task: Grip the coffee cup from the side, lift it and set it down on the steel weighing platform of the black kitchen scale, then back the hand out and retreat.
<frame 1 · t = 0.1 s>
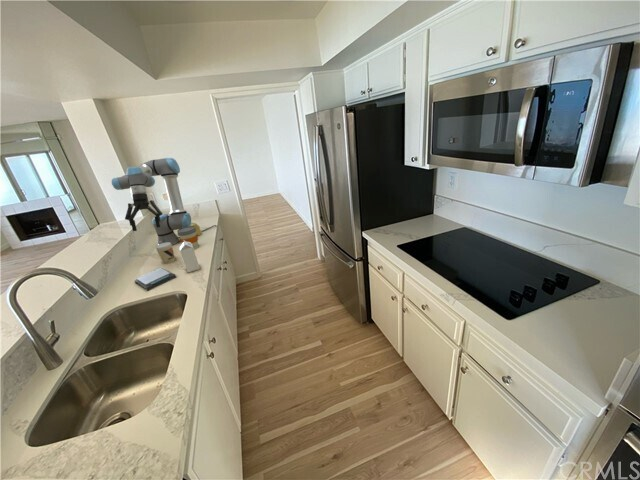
hand: (146, 229, 159), 28 cm above the worktop, tool tilted 20°, fingers open, 13 cm apart
scale: (155, 279, 157), on the worktop
coffee cup: (169, 260, 181), on the worktop
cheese: (192, 236, 223), on the worktop
reusable coffee cup: (192, 247, 199), on the worktop
milk carton: (193, 269, 165), on the worktop
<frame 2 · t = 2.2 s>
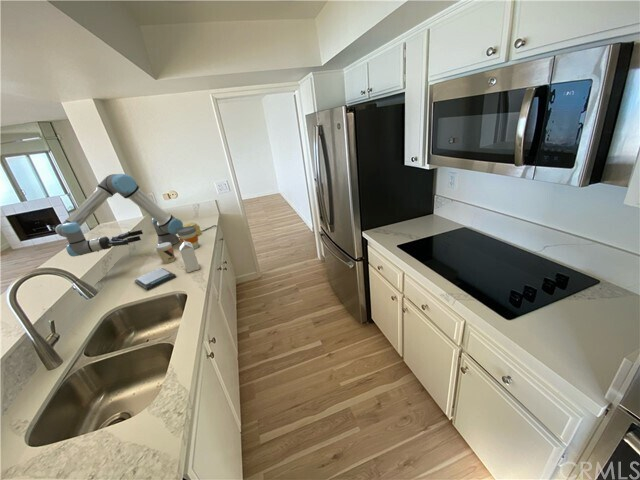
hand: (141, 234, 168), 22 cm above the worktop, tool horizontal, fingers open, 13 cm apart
nothing on the worktop moved.
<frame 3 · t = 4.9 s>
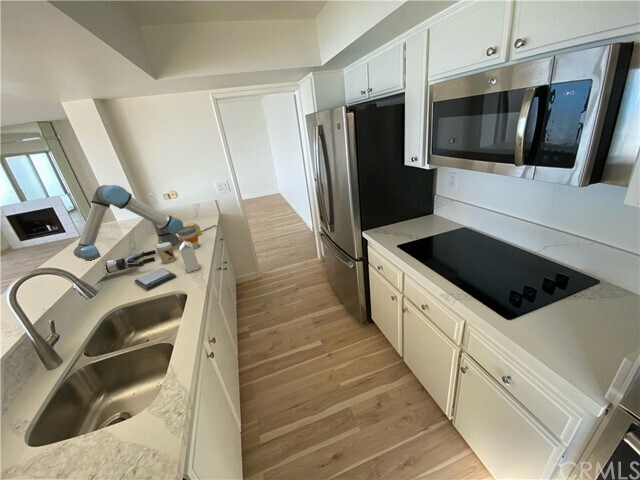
hand: (155, 255, 176), 6 cm above the worktop, tool horizontal, fingers open, 13 cm apart
nothing on the worktop moved.
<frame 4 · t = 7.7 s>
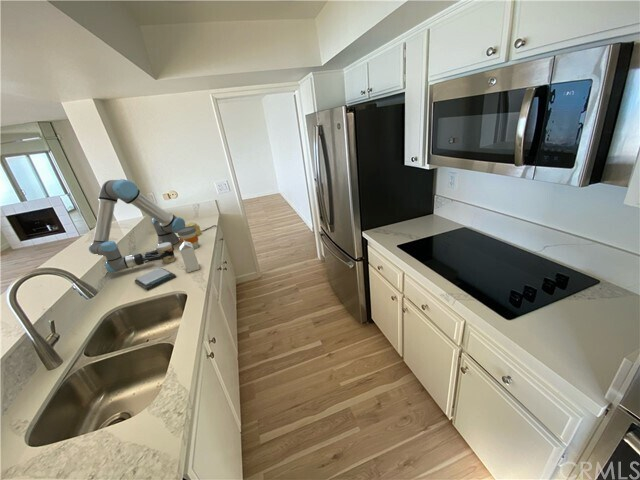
hand: (173, 250, 180), 7 cm above the worktop, tool horizontal, fingers closed on coffee cup, 8 cm apart
coffee cup: (169, 260, 181), on the worktop, touching gripper
everything else where it was.
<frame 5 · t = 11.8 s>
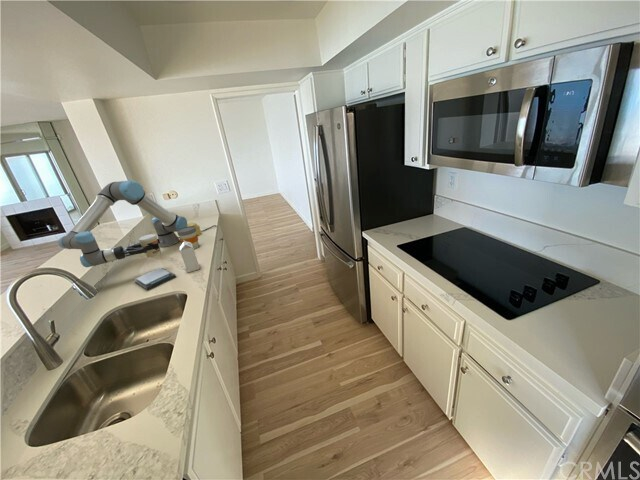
hand: (159, 243, 162), 18 cm above the worktop, tool horizontal, fingers closed on coffee cup, 8 cm apart
coffee cup: (154, 255, 163), point 12 cm above the worktop, touching gripper
everything else where it was.
when the fingers open (9 cm above the worktop, at t = 16.0 s): coffee cup stays where it is, resting on scale.
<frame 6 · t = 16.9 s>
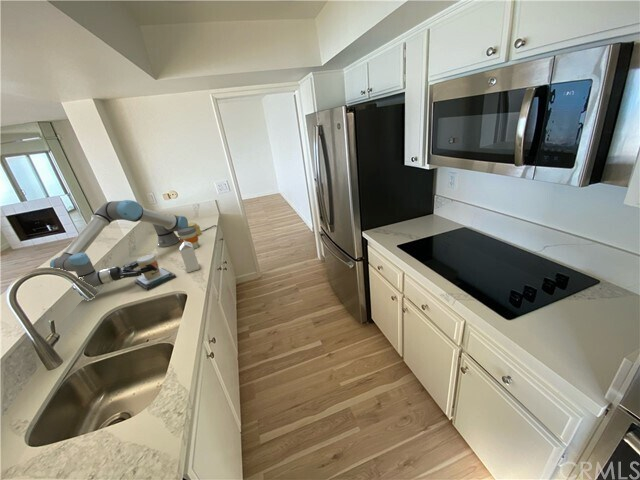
hand: (154, 262, 155), 10 cm above the worktop, tool horizontal, fingers open, 13 cm apart
coffee cup: (153, 275, 157), point 2 cm above the worktop, touching scale
everything else where it was.
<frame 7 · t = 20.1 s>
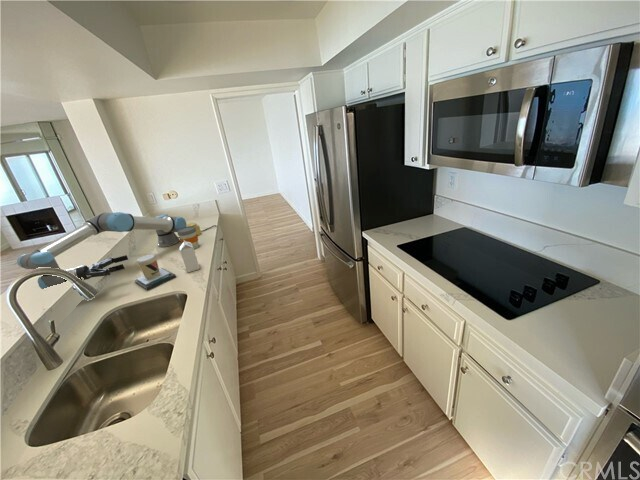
hand: (125, 261, 148), 15 cm above the worktop, tool horizontal, fingers open, 13 cm apart
nothing on the worktop moved.
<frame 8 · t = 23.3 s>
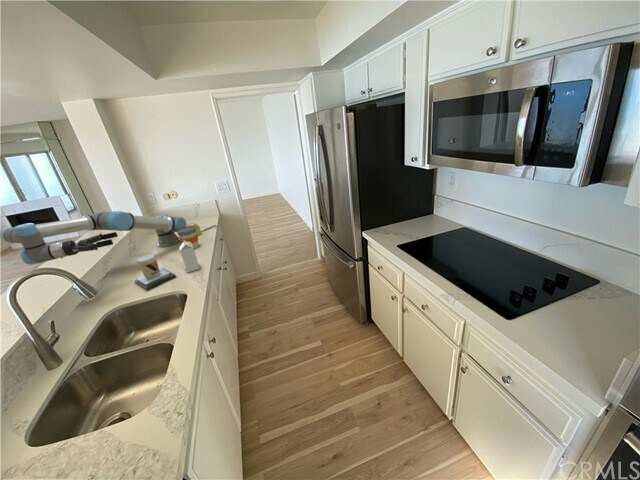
hand: (114, 237, 142), 30 cm above the worktop, tool horizontal, fingers open, 13 cm apart
nothing on the worktop moved.
at the end: coffee cup inside the target area on the scale (0.1 cm from its centre), point 2.4 cm above the scale's base; coffee cup tilted 0°; the gripper is holding nothing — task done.
